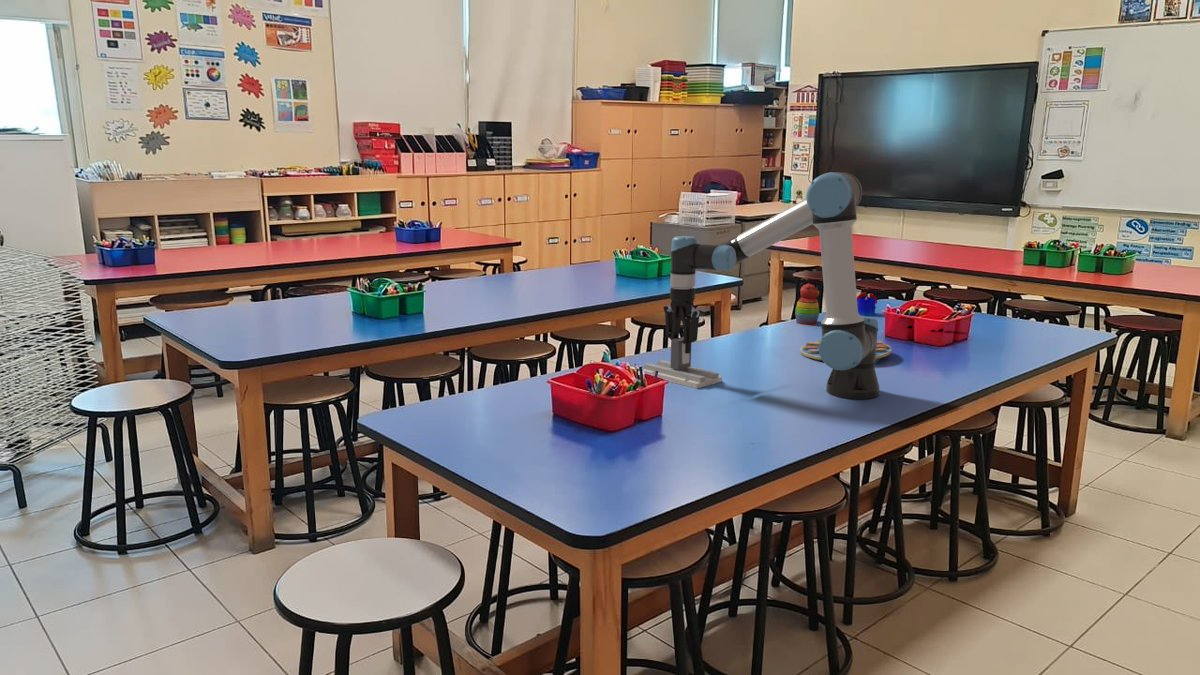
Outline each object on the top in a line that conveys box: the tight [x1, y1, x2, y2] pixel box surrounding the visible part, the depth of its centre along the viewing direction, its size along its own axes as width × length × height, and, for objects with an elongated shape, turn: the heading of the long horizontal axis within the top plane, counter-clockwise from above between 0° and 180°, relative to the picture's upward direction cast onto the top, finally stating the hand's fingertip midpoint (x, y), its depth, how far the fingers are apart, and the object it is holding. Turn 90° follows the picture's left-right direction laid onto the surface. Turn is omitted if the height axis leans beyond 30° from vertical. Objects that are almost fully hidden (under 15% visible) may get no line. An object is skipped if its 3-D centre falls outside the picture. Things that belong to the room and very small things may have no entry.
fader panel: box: [642, 359, 723, 389], centre depth 270 cm, size 23×12×3 cm, turn 44°
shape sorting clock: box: [799, 338, 893, 365], centre depth 301 cm, size 31×30×6 cm
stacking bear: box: [794, 282, 820, 327], centre depth 349 cm, size 11×10×18 cm
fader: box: [670, 336, 692, 372], centre depth 269 cm, size 3×6×11 cm, turn 134°
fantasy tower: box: [857, 291, 878, 317], centre depth 367 cm, size 12×12×12 cm
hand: (680, 362), depth 269 cm, fingers closed on fader, 3 cm apart
